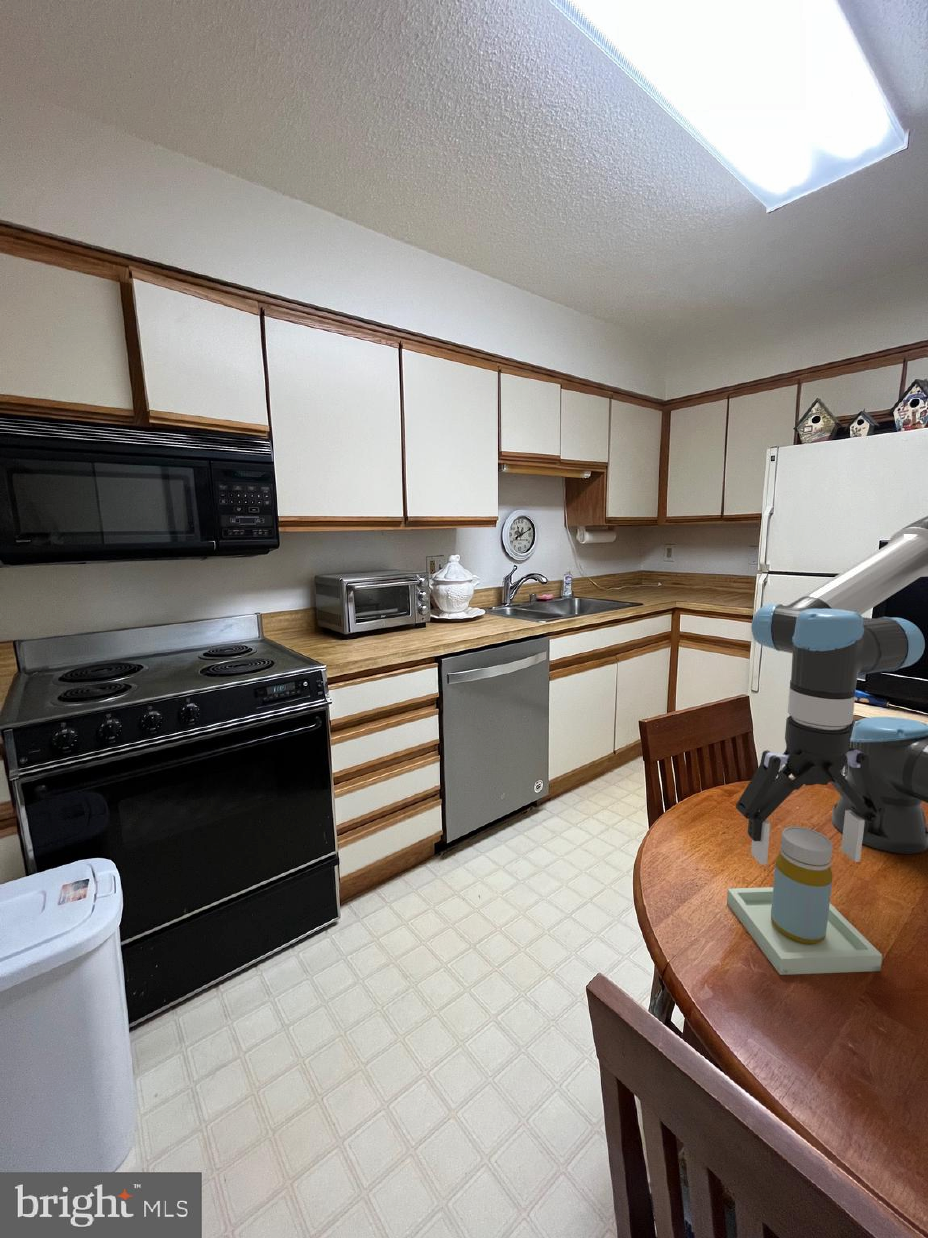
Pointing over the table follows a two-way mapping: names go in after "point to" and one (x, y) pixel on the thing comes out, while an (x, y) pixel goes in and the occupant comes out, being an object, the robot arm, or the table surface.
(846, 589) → the robot arm
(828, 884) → the bottle
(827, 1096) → the table surface
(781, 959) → the pale green square tray
